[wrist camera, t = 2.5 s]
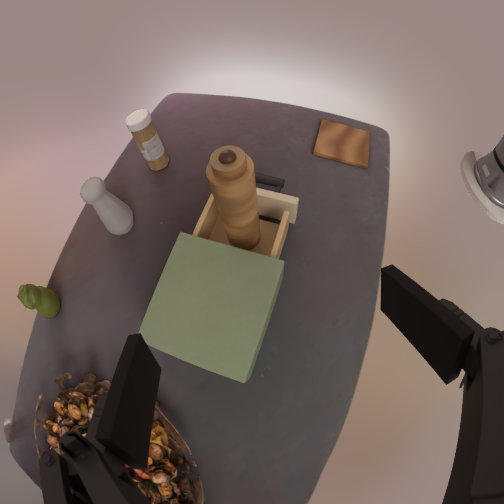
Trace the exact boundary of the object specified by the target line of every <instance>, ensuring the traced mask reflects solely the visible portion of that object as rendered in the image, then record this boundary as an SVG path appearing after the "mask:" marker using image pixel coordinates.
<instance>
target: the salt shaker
mask: <svg viewBox="0 0 504 504" xmlns="http://www.w3.org/2000/svg"><path fill="white" fill-rule="evenodd" d="M80 195H81V197H82V199H83V200H84V201H85V202H86V203H88V204H92V206H93V207H94V209H95V210H96V212H97V214H98V215H99V217H100V218H101V220H102V222H103V223H104V225H105V227H106V228H107V230H108V231H109V232H111V233H113V234H117V235H122V234H125V233H128V232H129V231H130V230H131V228H132V226H133V225H134V222H133V212H132V210H131V209H130V207H129V206H128V205H126V204H125V203H124V202H122V201H121V200H120V199H118V198H117V197H115V196H114V195H113V194H111V193H110V192H109V191H107V190H106V186H105V184H104V182H103V181H102V179H100V178H99V177H93V178H90V179H88V180H87V181H86V182H85V183H84V184H83V186H82V188H81V191H80Z"/></svg>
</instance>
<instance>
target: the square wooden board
mask: <svg viewBox="0 0 504 504" xmlns="http://www.w3.org/2000/svg"><path fill="white" fill-rule="evenodd" d="M369 144H370V132H368V131H364V130H361V129H357V128H354V127H350V126H347V125H343V124H339V123H335V122H331V121H327V120H323V119H322V121H321V125H320V129H319V133H318V137H317V141H316V144H315V148H314V152H313V155H317V156H321V157H325V158H329V159H332V160H336V161H340V162H344V163H347V164H351V165H354V166H358V167H361V168H364V169H367V168H368V159H369Z"/></svg>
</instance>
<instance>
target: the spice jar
mask: <svg viewBox="0 0 504 504" xmlns="http://www.w3.org/2000/svg"><path fill="white" fill-rule="evenodd" d="M126 125H127V127H128V129H129V131H131V133H132V135H133V137H134V139H135V140H136V142H137V145H138V147H139V149H140V151H141V152H142V154H143V156H144V158H145V159H146V161H147V163H148V165H149V168H150V169H151V170H154V171H158V170H161V169H163V168H164V167H166V166H167V164H168V162H169V157H168V156H167V155H166V152H165V150H164V147H163V145H162V142H161V140H160V138H159V136H158V133H157V131H156V129H155V128H154V125H153V123H152V120H151V116H150V114H149V112H148V110H146V109H139V110H136V111H134V112H133V113H131V114H130V115H129V116H128V117H127V119H126Z"/></svg>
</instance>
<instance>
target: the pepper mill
mask: <svg viewBox="0 0 504 504" xmlns="http://www.w3.org/2000/svg"><path fill="white" fill-rule="evenodd" d="M206 176H207V179H208V182H209V185H210V188H211V191H212V194H213V197H214V200H215V203H216V206H217V209H218V212H219V214H220V217H221V220H222V223H223V226H224V229H225V232H226V235H227V238H228V241H229V243H230V245H231V246H233V247H237V248H240V249H244V250H248V251H249V250H251V249H253V248H255V247H256V246H257V245H258V243H259V241H260V238H261V232H260V221H259V211H258V201H257V191H256V180H255V170H254V163H253V161H252V159H251V158H250V157H249V156H248V155H246V154H245V152H244V151H243V150H242V149H241V148H240V147H237V146H233V145H227V146H223V147H220V148H218V149H216V150H215V151H214V152H213V153H212V155H211V156H210V162H209V163H208V165H207V168H206Z"/></svg>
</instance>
